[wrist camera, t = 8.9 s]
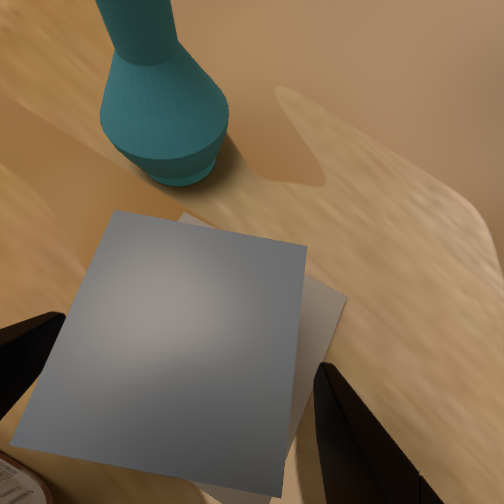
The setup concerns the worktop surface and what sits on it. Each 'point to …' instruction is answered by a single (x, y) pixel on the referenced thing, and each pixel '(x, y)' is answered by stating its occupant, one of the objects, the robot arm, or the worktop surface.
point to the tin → (21, 484)
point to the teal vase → (159, 96)
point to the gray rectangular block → (176, 356)
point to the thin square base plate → (306, 363)
